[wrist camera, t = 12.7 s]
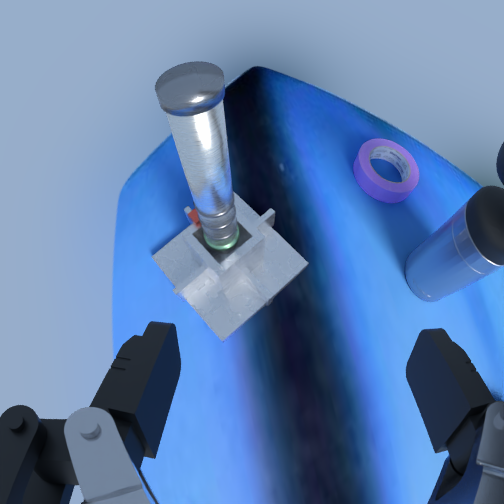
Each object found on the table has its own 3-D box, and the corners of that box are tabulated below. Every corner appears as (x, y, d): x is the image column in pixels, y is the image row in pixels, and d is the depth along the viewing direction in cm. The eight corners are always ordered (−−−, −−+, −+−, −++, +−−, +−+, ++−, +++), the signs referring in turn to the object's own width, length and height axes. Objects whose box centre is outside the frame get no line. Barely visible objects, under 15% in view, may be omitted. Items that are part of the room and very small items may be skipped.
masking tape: (408, 159, 53) (415, 147, 49) (413, 210, 48) (422, 199, 45) (352, 145, 53) (358, 131, 50) (352, 195, 49) (358, 183, 46)
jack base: (234, 192, 49) (229, 148, 39) (311, 266, 45) (327, 235, 34) (150, 260, 45) (123, 228, 35) (223, 347, 40) (212, 340, 30)
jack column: (225, 219, 38) (197, 55, 16) (246, 241, 37) (238, 78, 15) (199, 239, 37) (143, 83, 15) (221, 262, 36) (179, 111, 14)
